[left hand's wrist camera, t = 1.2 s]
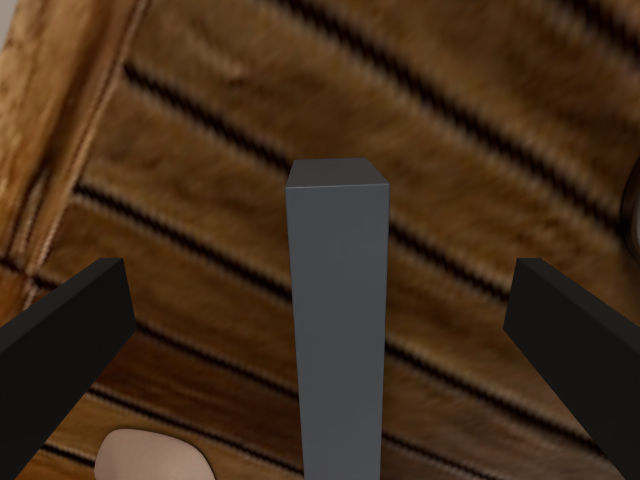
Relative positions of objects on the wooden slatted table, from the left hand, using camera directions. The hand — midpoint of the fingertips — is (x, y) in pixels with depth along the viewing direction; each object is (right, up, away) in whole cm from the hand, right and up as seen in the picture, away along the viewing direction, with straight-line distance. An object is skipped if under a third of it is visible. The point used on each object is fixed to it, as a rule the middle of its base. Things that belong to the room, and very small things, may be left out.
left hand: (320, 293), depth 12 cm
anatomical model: (-16, -21, +23) cm, 35 cm away
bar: (+1, -4, +17) cm, 17 cm away
